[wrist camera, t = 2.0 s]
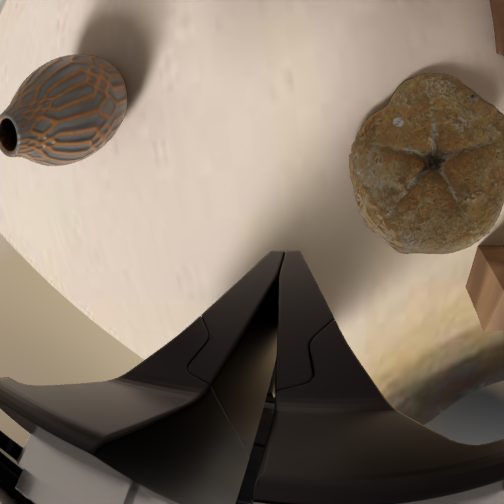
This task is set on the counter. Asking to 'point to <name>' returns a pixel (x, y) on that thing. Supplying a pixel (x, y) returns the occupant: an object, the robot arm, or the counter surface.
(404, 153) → the fossil
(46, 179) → the counter surface
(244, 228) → the counter surface
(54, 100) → the vase
